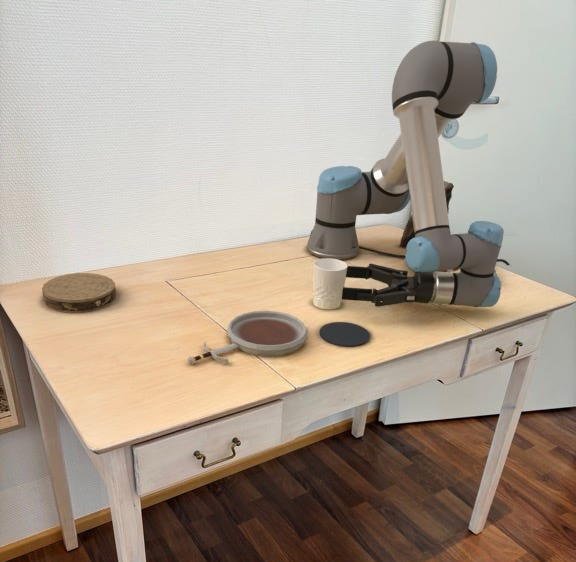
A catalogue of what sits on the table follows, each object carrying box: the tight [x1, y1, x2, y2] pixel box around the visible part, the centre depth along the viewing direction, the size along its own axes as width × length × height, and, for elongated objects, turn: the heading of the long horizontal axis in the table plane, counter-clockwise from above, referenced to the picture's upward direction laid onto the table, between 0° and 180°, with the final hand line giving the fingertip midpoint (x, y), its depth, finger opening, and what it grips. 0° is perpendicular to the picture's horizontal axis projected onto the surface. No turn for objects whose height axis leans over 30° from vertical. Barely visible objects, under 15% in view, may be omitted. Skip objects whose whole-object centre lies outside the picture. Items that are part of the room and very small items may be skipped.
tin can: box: [41, 272, 117, 314], centre depth 134 cm, size 16×16×3 cm
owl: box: [399, 180, 455, 249], centre depth 174 cm, size 13×13×20 cm
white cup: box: [312, 258, 349, 311], centre depth 136 cm, size 8×8×10 cm
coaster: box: [319, 321, 371, 348], centre depth 126 cm, size 11×11×1 cm
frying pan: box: [187, 310, 308, 365], centre depth 119 cm, size 17×3×28 cm
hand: (340, 281), depth 136 cm, fingers open, 13 cm apart
